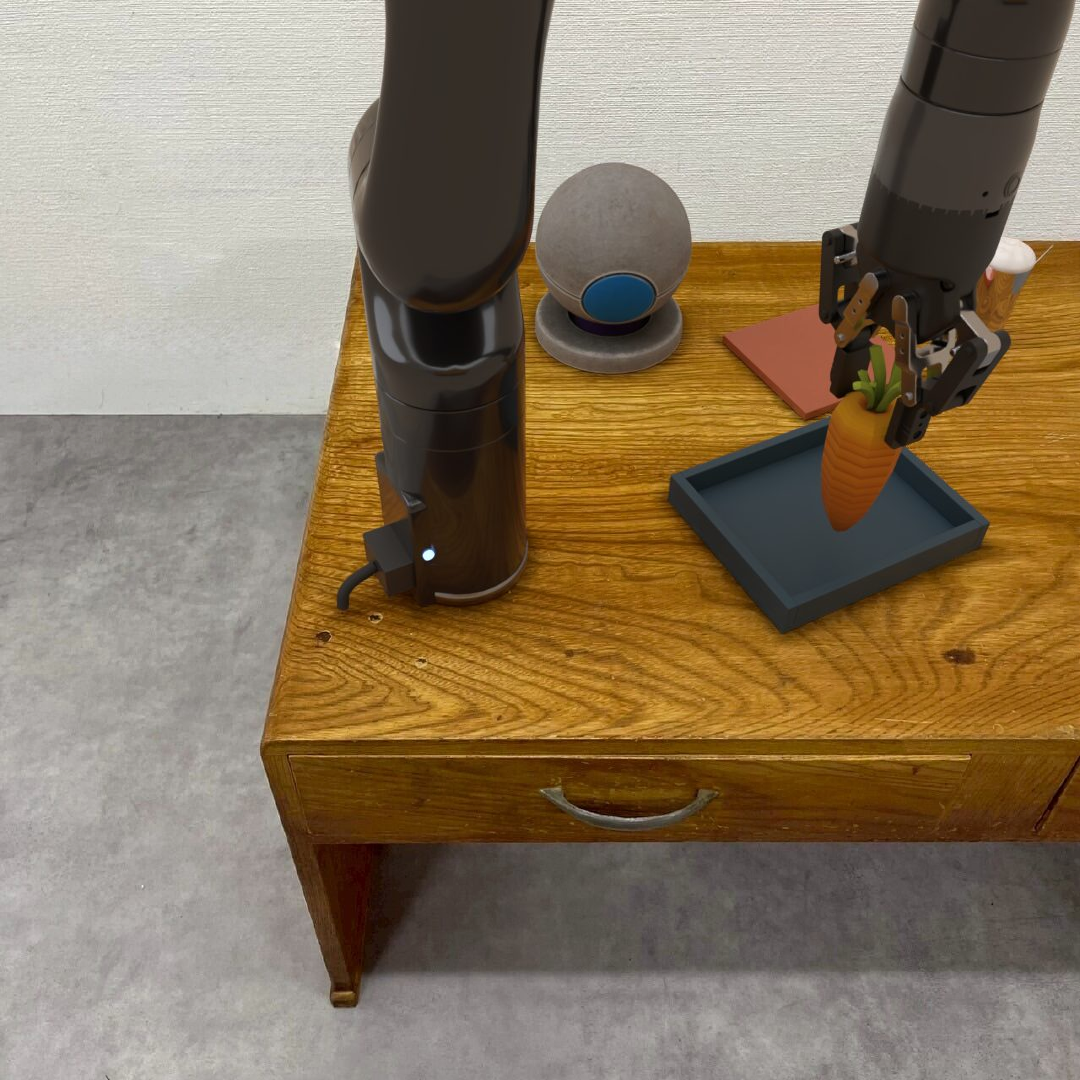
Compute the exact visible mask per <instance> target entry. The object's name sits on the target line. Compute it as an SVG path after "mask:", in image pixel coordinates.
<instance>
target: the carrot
mask: <svg viewBox="0 0 1080 1080" xmlns="http://www.w3.org/2000/svg"><path fill="white" fill-rule="evenodd" d="M869 350H870V357H871V363H872V367H873V372H874V381H872V382H871V380H870V377H869V375H868V372H867V371H865V370H862V369H861V370H860V371H858V374H859V377H860V379H861V381H858V382H854V383H853V389H854V390H856V392H850V393H847V394H846V395H845V397H844V398H843V399H842V400H841V402H840V403H839V404H838V406H837V407H836V408H835V410H832V413H831V414H830V416H831V418H830V422H829V427H828V431H827V436H826V440H825V445H824V451H823V456H822V465H821V495H822V500H823V504H824V509H825V512H826V514H827V517H828V519H829V522H830V524H831V526H832V528H833V529H834V530H835V531H837V532H842V531H846V530H848V529H849V528H850V527H852V526H853V525H855V524H856V523H857V522H858V521H859V520H860V519H861V518H862V517H863V516H864V515H865V514H866V513H867V512H868V510H869V509H870V507H871V506H872V504H873V503H874V501H875V500H876V498H877V497H878V495H879V494H880V492H881V490H882V489H883V487H884V486H885V484H886V482H887V480H888V479H889V477H890V475H891V474H892V472H893V470H894V467H895V465H896V462H897V460H898V458H899V455H900V453H901V450H902V448H903V447H900V448H897V449H892V448H890V447H889V446H888V445H887V444H886V443H885V442H884V438H885V435H886V432H887V429H888V426H889V422H890V419H891V416H892V413H893V410H894V406H895V403H896V400H897V398H899V397H901V368H900V367H897V366H896V365H895V360H894V364H893V367H892V371H891V376H890V380H889V383H888V385H887V388H886V365H885V358H884V353H883V349H882V346H881V345H876V344H874V345H872V346H871V347H869ZM885 389H886V390H885Z"/></svg>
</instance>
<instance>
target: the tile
mask: <svg viewBox="0 0 1080 1080" xmlns="http://www.w3.org/2000/svg"><path fill="white" fill-rule="evenodd" d="M834 333H835V330H834V328H833V327H832V325H831V323H829V324H824V323H823V322H822V321H821V320H820V318H819V302H818V303H816V304H813V305H809V306H805V307H803V308H800V309H797V310H793V311H791V312H788V313H785V314H782V315H779V316H775V317H773V318H772V317H771V318H769V319H766V320H764V321H760V322H757V323H754V324H751V325H747V326H745V327H742V328H739V329H736V330H732V331H730V332H726V333H724V334H722V339H721V342H722V343H723V344H724V345H725V346H726V347H727V348H728V349H729V350H730V351H731V352H732V353H733V354H734V355H735V356H737V357H738V359H740V361H742V362H743V363H744V364H745V365H746V366H747V367H748V368H749V369H750V370H751V371H752V372H753V373H754V374H755V375H756V376H757V377H759V379H760V380H762V381H763V382H764V383H765V384H766V385H767V386H768V387H769V388H770V389H771V390H772V391H773V392H775V394H776V395H777V396H778V397H780V399H781V400H783V402H785V403H786V405H788V406H789V407H790V408H791V409H792V410H793V411H794V412H795V413H796V414H797V415H798V416H799V417H800V418H802V420H804V421H807V420H811V419H812V418H815V417H818V416H821V415H824V414H827V413H830V412H833V411H834V410H835V408H836V407H837V406H838V404H839V403H840V402H841V400H842V399H843V398H844V397H843V398H841V399H837V398H836V397H835V396H834V395H833V394H832V393H831V392H830V386H831V382H830V371H831V367H832V363H833V359H834V356H835V352H836V348H837V344H836V343H835V340H834ZM870 341H871V342H872V343H873V344H876V345H881V346H882V349H883V353H884V358H885V365H886V388H887V385H888V383H889V380H890V376H891V371H892V367H893V364H894V360H895V347H893V346H891V344H889V343H888V342H887V341H885V340H884V339H883V338H882V337H881V336H879V335H878V334H877V335H876V336H875V337H874V338H871V339H870ZM867 372H868V375H869V377H870V380H871V382H872V381H874V372H873V367H872V363H871V360H870V364H869V367H868V371H867ZM885 390H886V389H885Z"/></svg>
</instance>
